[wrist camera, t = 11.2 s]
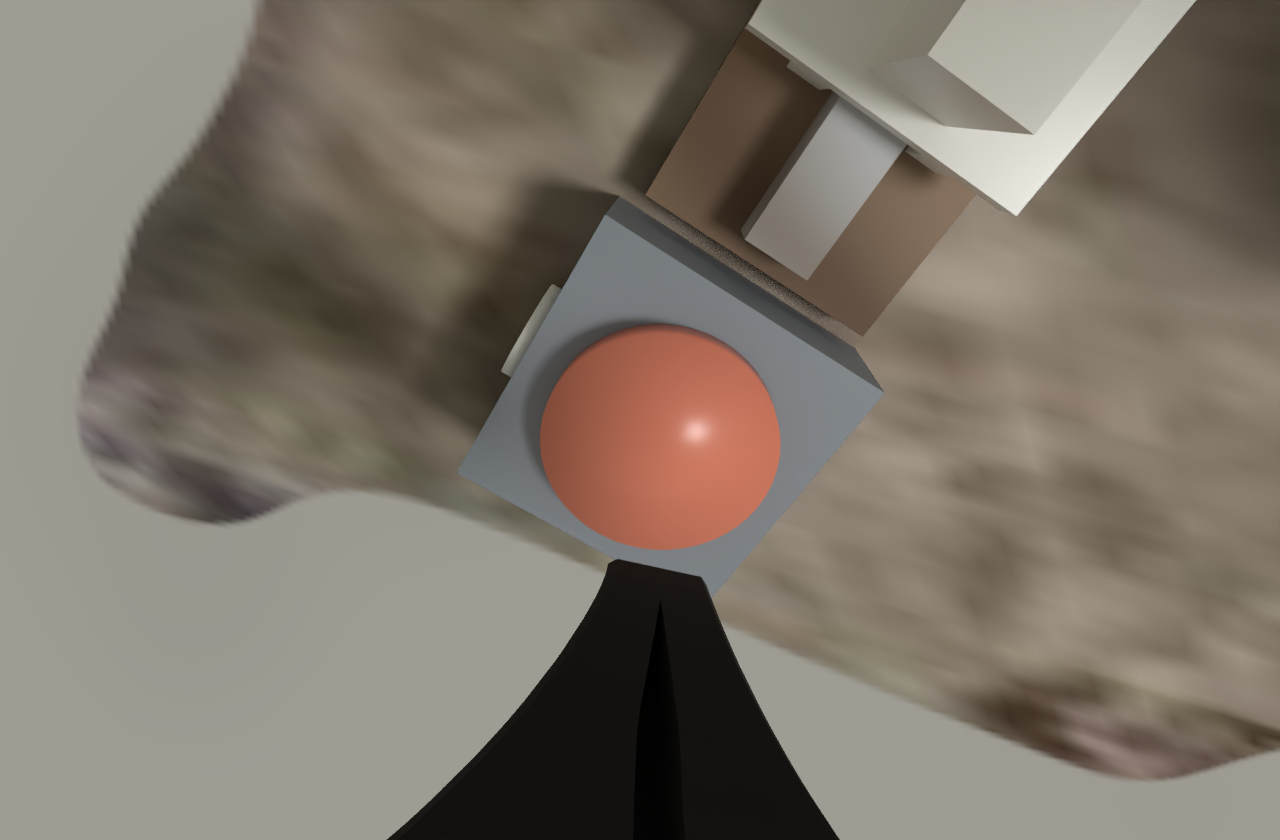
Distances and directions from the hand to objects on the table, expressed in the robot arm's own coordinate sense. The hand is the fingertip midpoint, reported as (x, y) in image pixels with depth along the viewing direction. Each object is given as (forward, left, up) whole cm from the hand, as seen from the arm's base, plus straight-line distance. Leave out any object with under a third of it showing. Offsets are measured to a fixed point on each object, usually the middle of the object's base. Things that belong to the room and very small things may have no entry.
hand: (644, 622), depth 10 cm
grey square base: (0, 0, -9) cm, 9 cm away
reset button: (0, 0, -9) cm, 9 cm away
